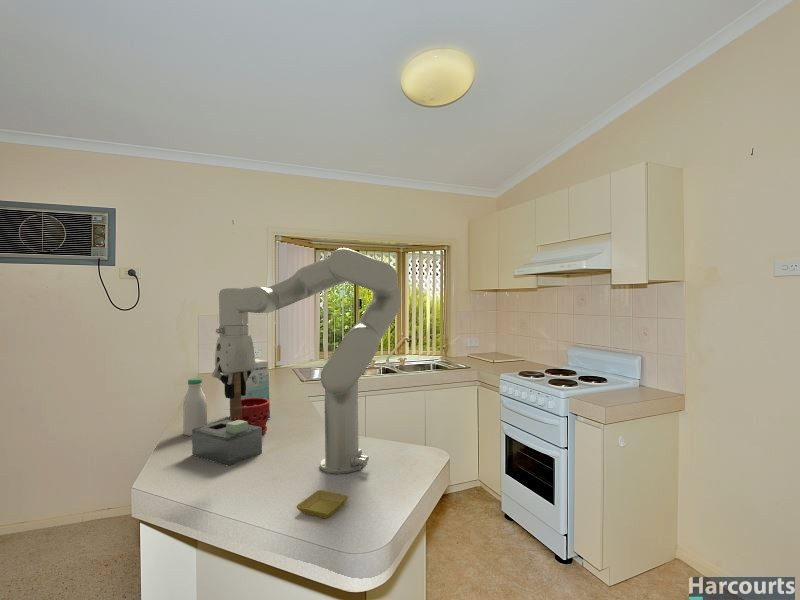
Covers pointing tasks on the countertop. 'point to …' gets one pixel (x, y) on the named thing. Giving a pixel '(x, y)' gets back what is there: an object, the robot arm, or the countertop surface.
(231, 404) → the stylus dowel
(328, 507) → the olive square dish
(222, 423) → the grey box
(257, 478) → the countertop surface
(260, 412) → the plant pot
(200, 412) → the milk bottle
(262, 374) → the toothbrush box
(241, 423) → the on button
